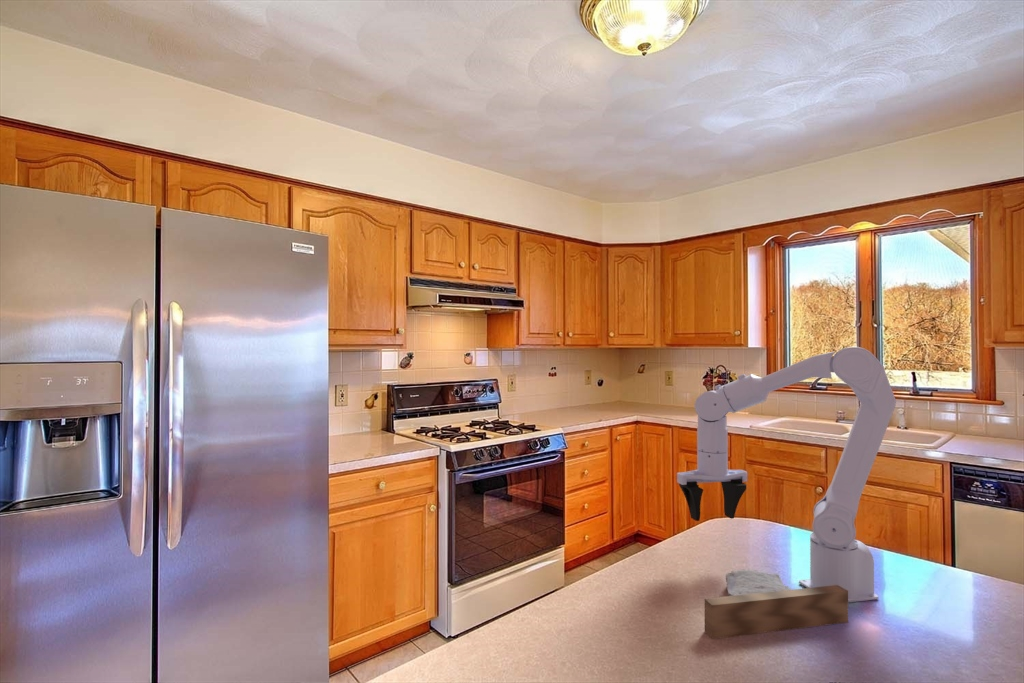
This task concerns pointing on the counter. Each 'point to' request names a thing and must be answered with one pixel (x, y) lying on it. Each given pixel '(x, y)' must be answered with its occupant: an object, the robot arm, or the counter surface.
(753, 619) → the walnut wall
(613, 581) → the counter surface
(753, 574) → the stone block
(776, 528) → the counter surface
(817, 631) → the counter surface
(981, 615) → the counter surface
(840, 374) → the robot arm
